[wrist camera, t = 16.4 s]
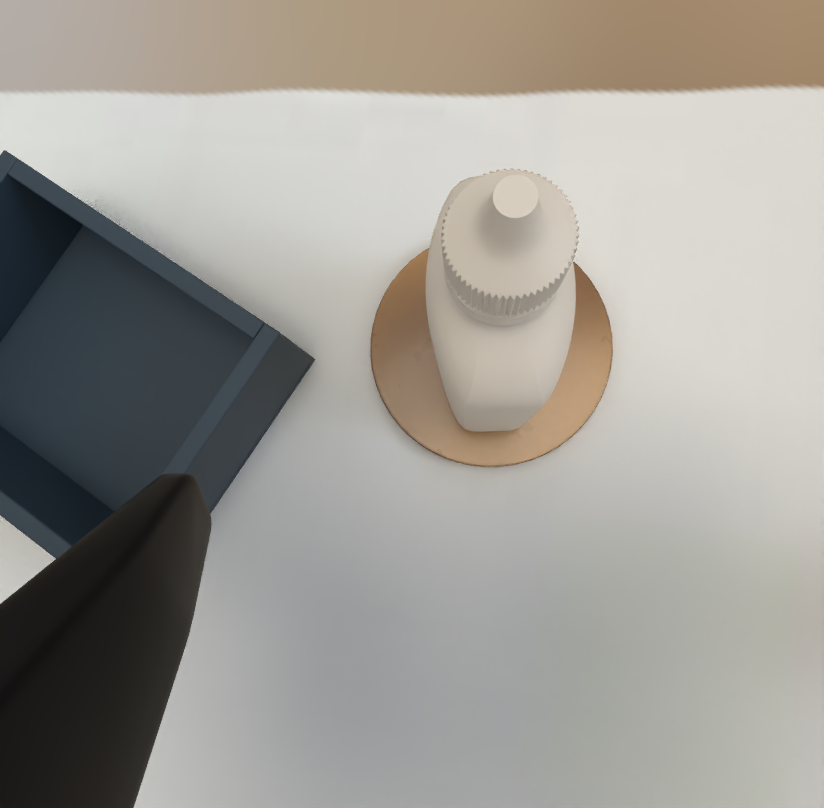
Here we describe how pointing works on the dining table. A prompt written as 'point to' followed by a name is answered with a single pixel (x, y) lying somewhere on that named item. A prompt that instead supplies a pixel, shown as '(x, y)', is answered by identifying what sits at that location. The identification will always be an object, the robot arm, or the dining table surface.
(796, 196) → the dining table surface
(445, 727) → the dining table surface
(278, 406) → the tub
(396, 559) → the dining table surface
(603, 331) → the coaster
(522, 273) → the eye dropper bottle
